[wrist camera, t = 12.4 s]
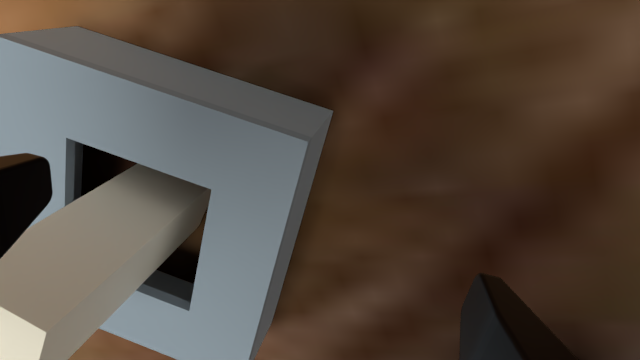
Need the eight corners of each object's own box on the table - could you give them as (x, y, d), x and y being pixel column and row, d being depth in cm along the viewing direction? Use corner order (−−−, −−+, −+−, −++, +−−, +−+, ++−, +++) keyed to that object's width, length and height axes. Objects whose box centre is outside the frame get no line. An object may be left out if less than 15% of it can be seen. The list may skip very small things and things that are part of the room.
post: (219, 178, 25) (46, 332, 14) (199, 225, 27) (28, 399, 15) (164, 147, 25) (-54, 275, 14) (147, 196, 27) (-62, 348, 15)
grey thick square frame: (333, 110, 22) (308, 141, 18) (272, 321, 28) (241, 385, 24) (77, 26, 23) (-7, 34, 19) (70, 244, 29) (5, 290, 25)
